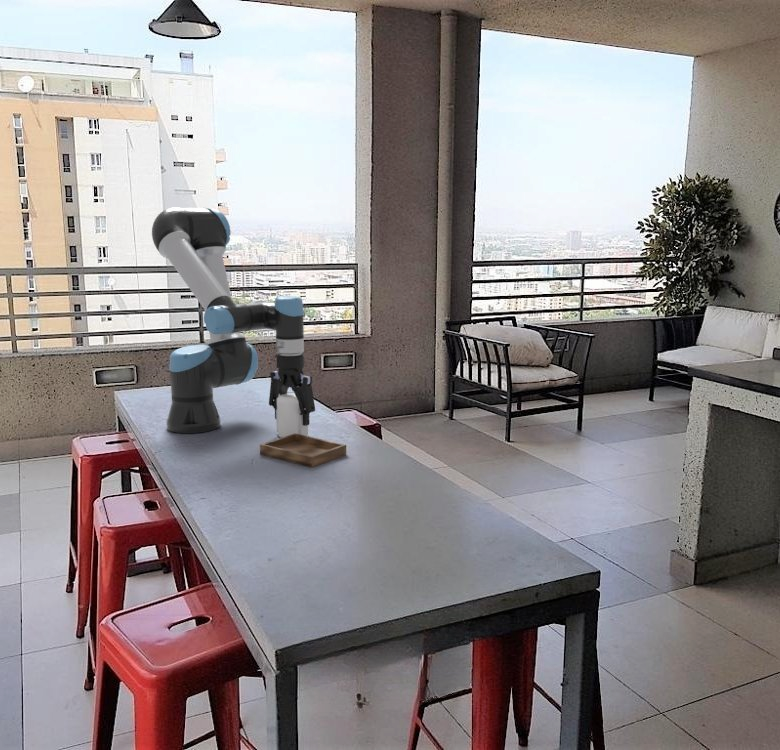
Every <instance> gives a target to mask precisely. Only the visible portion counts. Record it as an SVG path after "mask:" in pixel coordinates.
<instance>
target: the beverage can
mask: <svg viewBox="0 0 780 750" xmlns="http://www.w3.org/2000/svg"><path fill="white" fill-rule="evenodd" d="M300 413H301V411H300V408H299V402H298V399H297V397H296V396H295V393H294V391H287V393H286V394H282V395H280V394H279V395H278V398H277V424H276V428H277V427H278V432H277V436H278V437H279V438H282V437H285V436H289V435H292V434H299V414H300Z"/></svg>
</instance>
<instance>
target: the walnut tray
mask: <svg viewBox="0 0 780 750" xmlns="http://www.w3.org/2000/svg"><path fill="white" fill-rule="evenodd" d="M259 451H260V452H259V455H263V456H265V457H270V458H273V459H278V460H281V461H286V462H289V463H293V464H296V465H300V466H305V467H308V468H315V467H317V466H320V465H322V464H326V463H327V462H330V461H332V460H333V461H334V460H336V459H339V458H341V457H344V456H346V455H347V444H343V443H341V442H335V441H330V440H326V439H321V438H318V437H314V436H313V437H312V436H309V435H308V436H304V435H300V434H292V435H289V436H285V437H279V438H275V439H273V440H270V441H267V442H263V443H261V444H259Z"/></svg>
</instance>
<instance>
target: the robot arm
mask: <svg viewBox="0 0 780 750" xmlns="http://www.w3.org/2000/svg"><path fill="white" fill-rule="evenodd" d="M229 223H230V222H229V220H228V219H227V217H226V216H225V214H224V213H223V212H221V211H220V210H218V209H215V208H208V207H170V208H166V209H163V211H162V212H160V213H159V214H157V216H156V218H155V219H154V222H153V224H152V228H151V238H152V241H153V244H154V247H155V248H156V250H157V251H158V253H159V255H160V256H162V257H163V258H165V259H167V260H169V262H170V263H171V265H172V266H173V267H174V269H175V270H176V271H177V273H178V274H179V276H180V278H181V279H182V280H183V282H184V283H185V284H186V286H187V288H188V289H189V290H190V292H191V293H192V294H193V296H194V297H195V298H196V300H197V301H198V303H199V304H200V305H201V307H202V308H203V310H204V314H203V323H204V324H205V328H206V330H207V332H208V333H209V337H210V338H209V340H208V341H207V343H206V344H195V345H186V346H183V347H180V348H177V349H175V350H173V351H172V353H170V355H169V365H168V366H169V367H168V368H169V376H170V390H171V391H170V392H171V405H170V408H169V412H168V417H167V419H166V428H167V430H168V431H169V432H172V433H177V434H197V433H198V434H200V433H205V432H210V431H211V432H212V431H213V430H216V429H218V428H219V427H220V426H221V417H220V415H219V412H218V409H217V406H216V403H215V401H214V389H217V388H221V387H229V386H233V385H241V384H243V383H247V382H249V381H251V380H252V379H253V378H255V375H256V372H258V367H259V358H258V352H257V350H256V348H254V346H253V345H252V344H250V343H247V340H246V339H247V338H246V336H245V335H243V334H241V332H242V333H243V332H249V331H259V330H274V331H275V345H276V347H275V349H276V353H277V354H276V367H277V368H278V370H275V371H271V372H270V373H269V375H270V390H269V396H268V397H269V398H268V405H269V406H271V407H272V408H273V409H274V418H275V419H274V420H276V421H275V422H276V423H275V424H276V425H277V398H278V395H279V394H280V395H282V394H286V393H287V392H289V391H288V390H289V388H290V389H291V390H292V391H291V392H294V393H295V396H296V397H297V399H298V402H299V408H300V411H301V413H300V414H299V434H300V435H304V436H309V425H310V413H314V412H316V405H315V400H314V399H315V398H314V392H313V386H312V385H313V383H312V382H313V376H311V375H305V374H304V371H303V369H304V367H305V354H304V352H305V341H304V336H305V335H304V333H305V332H304V328H305V327H304V314H305V313H304V312H305V311H304V307H303V306H304V305H303V304H304V303H303V299H302V298H301V297H300V296H295V295H294V296H293V295H292V296H291V295H288V296H286V295H284V296H283V295H282V296H278V297H276V298H274V302H271V301H266V300H255V301H251V302H249V303H235V301H233V299H232V295H231V290H230V285H229V280H228V276H227V271H226V266H225V262H224V257H223V256H224V254H225V252H226V251H227V245H228V244H229V242H230V240H231V237H230V236H231V233H232V231H231V225H230V224H229ZM276 433H278V427H277V426H276Z"/></svg>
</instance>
